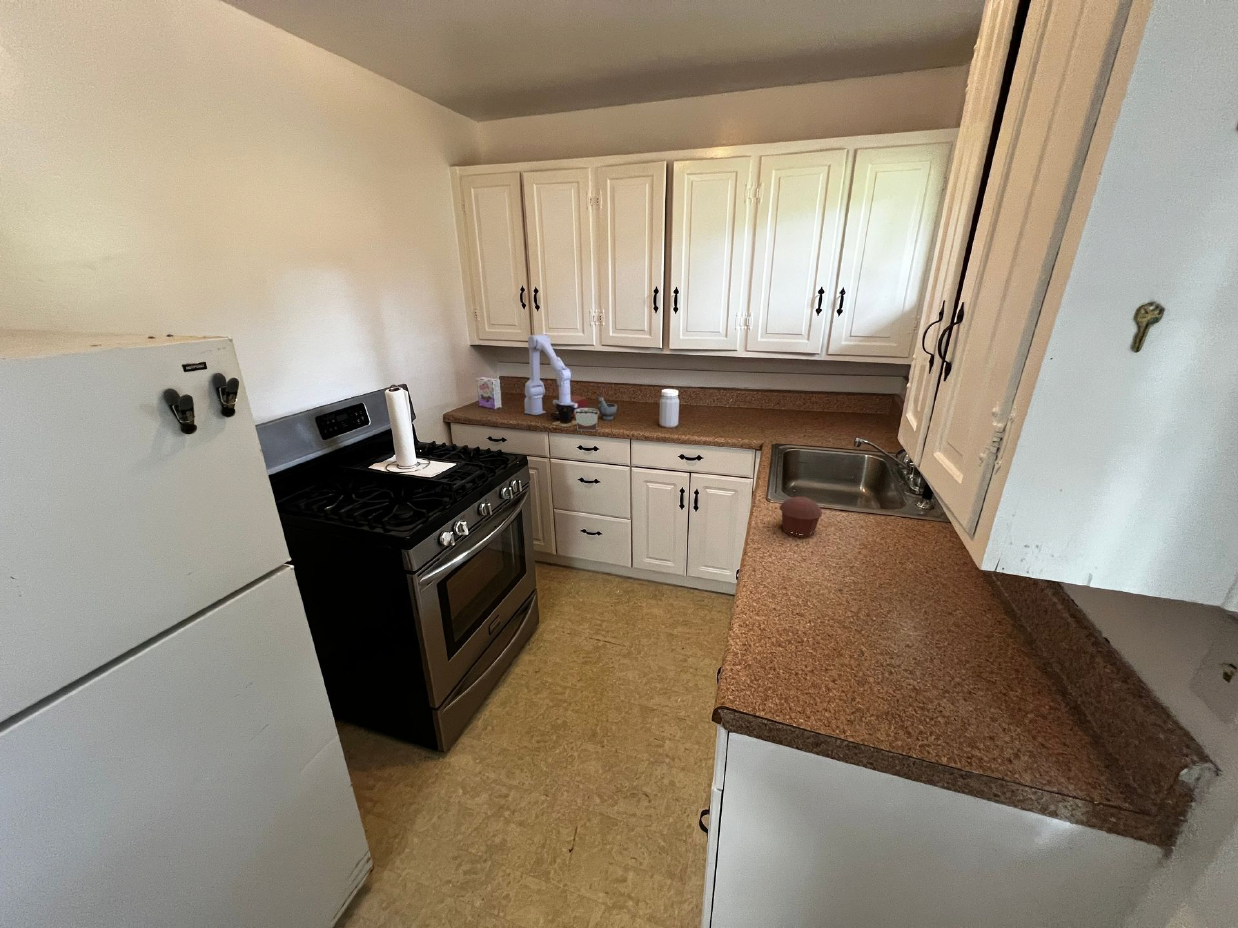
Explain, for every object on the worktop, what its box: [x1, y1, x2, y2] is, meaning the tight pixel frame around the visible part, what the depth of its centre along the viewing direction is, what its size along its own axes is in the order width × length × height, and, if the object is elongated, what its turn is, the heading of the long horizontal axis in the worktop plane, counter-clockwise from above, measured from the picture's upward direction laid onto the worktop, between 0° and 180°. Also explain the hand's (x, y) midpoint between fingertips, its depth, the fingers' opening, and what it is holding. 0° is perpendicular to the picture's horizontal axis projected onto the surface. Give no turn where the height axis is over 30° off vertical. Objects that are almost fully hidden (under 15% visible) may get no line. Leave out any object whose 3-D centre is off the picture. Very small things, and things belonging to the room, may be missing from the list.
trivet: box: [551, 419, 577, 428], centre depth 247 cm, size 10×10×1 cm
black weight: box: [559, 408, 573, 424], centre depth 245 cm, size 4×4×7 cm
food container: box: [574, 407, 600, 432], centre depth 236 cm, size 12×6×10 cm, turn 84°
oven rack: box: [549, 411, 573, 420], centre depth 256 cm, size 9×13×3 cm
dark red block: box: [557, 394, 588, 419], centre depth 262 cm, size 11×12×9 cm
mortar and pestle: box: [598, 396, 618, 421], centre depth 254 cm, size 11×9×12 cm
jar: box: [658, 388, 680, 429], centre depth 240 cm, size 10×10×18 cm
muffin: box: [779, 496, 823, 539], centre depth 140 cm, size 12×11×10 cm
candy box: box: [475, 376, 503, 410], centre depth 276 cm, size 14×6×16 cm, turn 55°
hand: (565, 419), depth 246 cm, fingers closed on black weight, 4 cm apart
